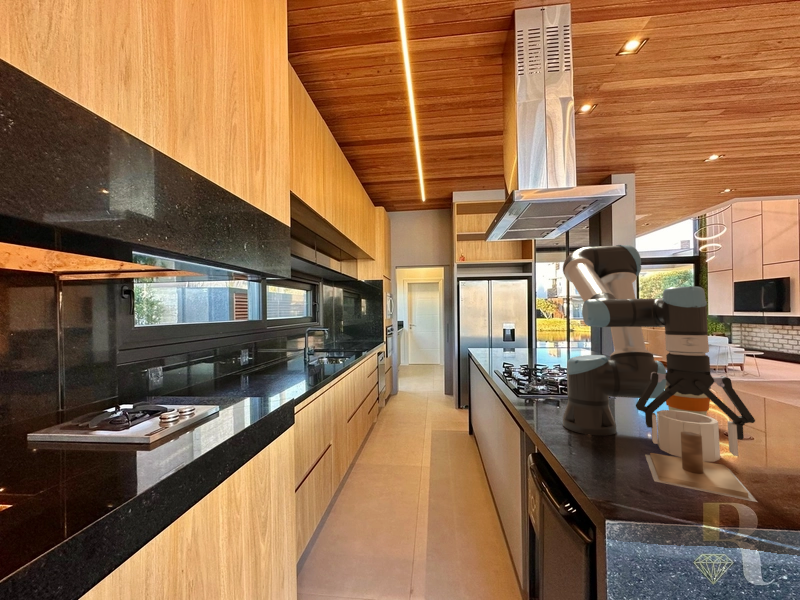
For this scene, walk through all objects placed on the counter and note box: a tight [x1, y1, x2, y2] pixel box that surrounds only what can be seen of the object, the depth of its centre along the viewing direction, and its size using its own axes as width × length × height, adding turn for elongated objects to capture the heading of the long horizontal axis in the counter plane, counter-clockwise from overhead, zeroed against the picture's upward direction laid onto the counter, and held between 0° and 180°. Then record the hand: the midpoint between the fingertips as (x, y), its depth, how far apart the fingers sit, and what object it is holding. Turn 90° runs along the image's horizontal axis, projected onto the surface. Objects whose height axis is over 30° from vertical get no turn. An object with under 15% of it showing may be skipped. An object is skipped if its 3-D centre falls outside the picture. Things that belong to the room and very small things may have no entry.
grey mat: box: [644, 454, 758, 503], centre depth 74 cm, size 16×16×1 cm
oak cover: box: [649, 432, 749, 498], centre depth 75 cm, size 14×14×9 cm
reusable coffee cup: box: [664, 380, 712, 416], centre depth 113 cm, size 13×13×15 cm
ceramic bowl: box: [656, 409, 721, 463], centre depth 87 cm, size 12×12×10 cm
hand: (692, 447), depth 74 cm, fingers open, 13 cm apart
